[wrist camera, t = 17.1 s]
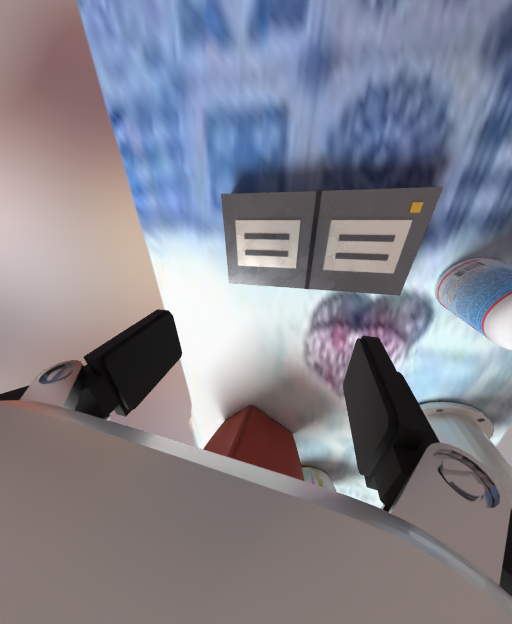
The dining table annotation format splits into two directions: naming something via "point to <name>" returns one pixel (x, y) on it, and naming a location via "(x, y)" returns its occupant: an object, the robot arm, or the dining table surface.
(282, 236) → the panel
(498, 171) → the dining table surface
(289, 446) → the plant pot
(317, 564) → the robot arm
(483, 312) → the pill bottle
